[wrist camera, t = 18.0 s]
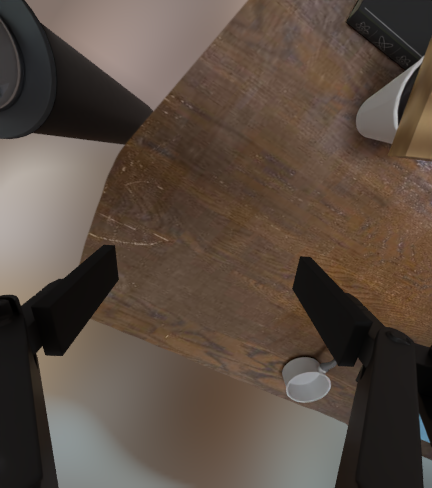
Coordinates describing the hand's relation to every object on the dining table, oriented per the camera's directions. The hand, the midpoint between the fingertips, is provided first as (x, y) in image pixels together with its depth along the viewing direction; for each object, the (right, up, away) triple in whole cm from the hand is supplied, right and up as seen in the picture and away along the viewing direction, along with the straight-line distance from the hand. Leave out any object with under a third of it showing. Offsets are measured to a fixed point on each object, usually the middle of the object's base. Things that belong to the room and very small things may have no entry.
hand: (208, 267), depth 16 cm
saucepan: (+26, -30, +45) cm, 60 cm away
